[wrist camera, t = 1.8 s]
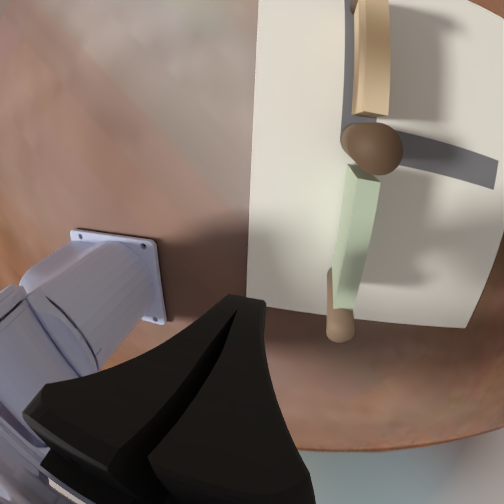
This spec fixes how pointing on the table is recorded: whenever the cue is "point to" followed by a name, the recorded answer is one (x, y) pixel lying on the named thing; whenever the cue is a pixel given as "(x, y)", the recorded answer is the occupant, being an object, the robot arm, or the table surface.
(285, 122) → the board
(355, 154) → the fixed fence
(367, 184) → the hinged panel
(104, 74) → the table surface
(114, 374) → the robot arm
